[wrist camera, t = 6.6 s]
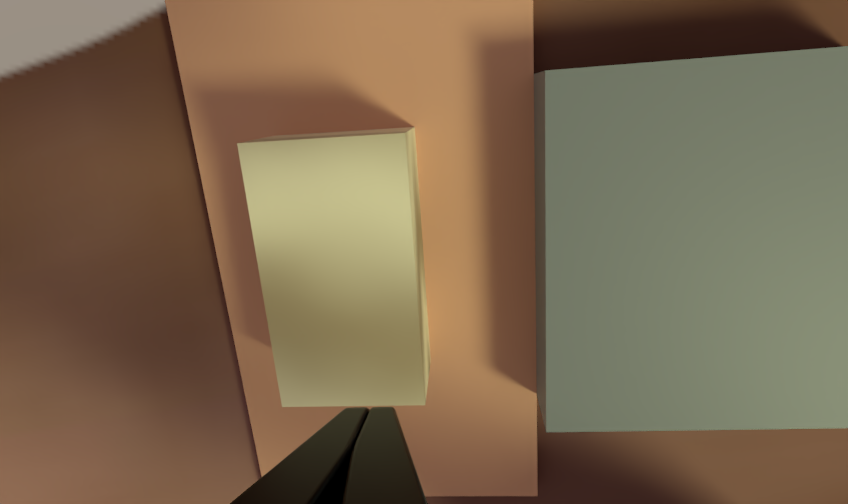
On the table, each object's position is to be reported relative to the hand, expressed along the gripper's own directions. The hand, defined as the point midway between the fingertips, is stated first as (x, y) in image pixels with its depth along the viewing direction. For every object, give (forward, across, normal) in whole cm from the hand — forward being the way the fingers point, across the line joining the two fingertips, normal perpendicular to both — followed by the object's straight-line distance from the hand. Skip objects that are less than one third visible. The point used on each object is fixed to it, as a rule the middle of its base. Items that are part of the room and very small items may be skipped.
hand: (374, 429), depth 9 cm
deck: (+11, -9, 0) cm, 14 cm away
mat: (+11, +2, 0) cm, 11 cm away
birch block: (+9, +2, 0) cm, 9 cm away
